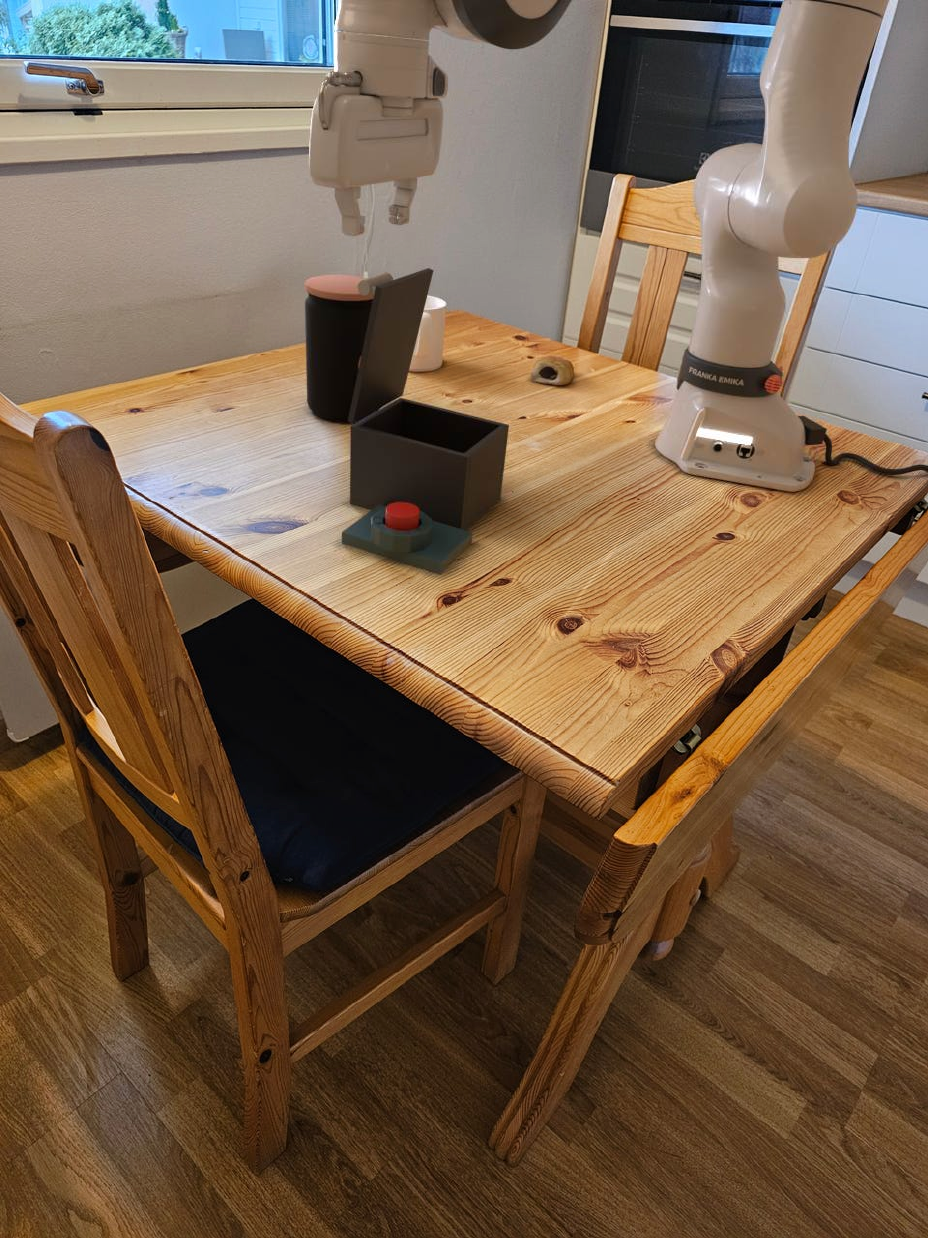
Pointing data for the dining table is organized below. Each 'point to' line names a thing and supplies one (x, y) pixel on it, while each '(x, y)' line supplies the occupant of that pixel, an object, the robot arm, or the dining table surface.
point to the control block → (408, 540)
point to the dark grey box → (428, 461)
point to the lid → (388, 339)
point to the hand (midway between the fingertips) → (376, 229)
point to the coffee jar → (334, 343)
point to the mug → (430, 337)
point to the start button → (402, 516)
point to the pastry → (552, 371)
